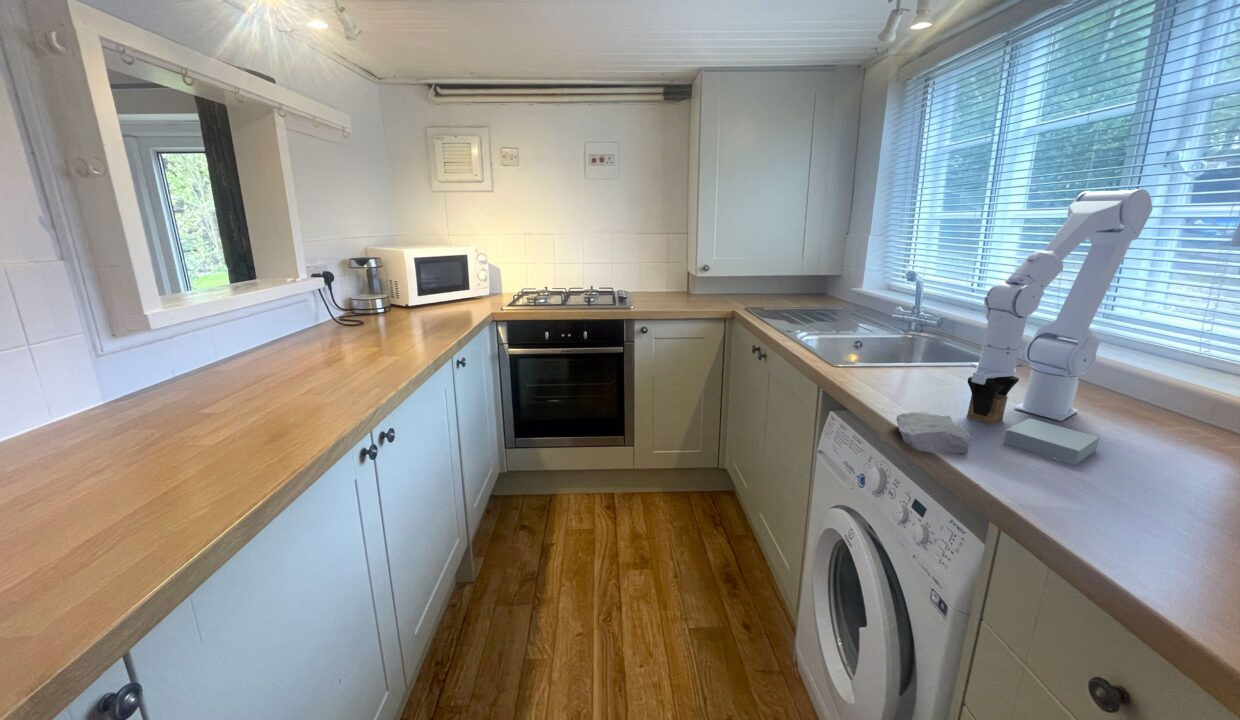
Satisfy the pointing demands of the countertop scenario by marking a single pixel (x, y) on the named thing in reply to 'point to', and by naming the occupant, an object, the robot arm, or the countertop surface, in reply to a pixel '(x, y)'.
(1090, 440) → the base slab
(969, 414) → the walnut block
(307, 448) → the countertop surface
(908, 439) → the stone block
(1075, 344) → the robot arm
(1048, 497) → the countertop surface
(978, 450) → the countertop surface
